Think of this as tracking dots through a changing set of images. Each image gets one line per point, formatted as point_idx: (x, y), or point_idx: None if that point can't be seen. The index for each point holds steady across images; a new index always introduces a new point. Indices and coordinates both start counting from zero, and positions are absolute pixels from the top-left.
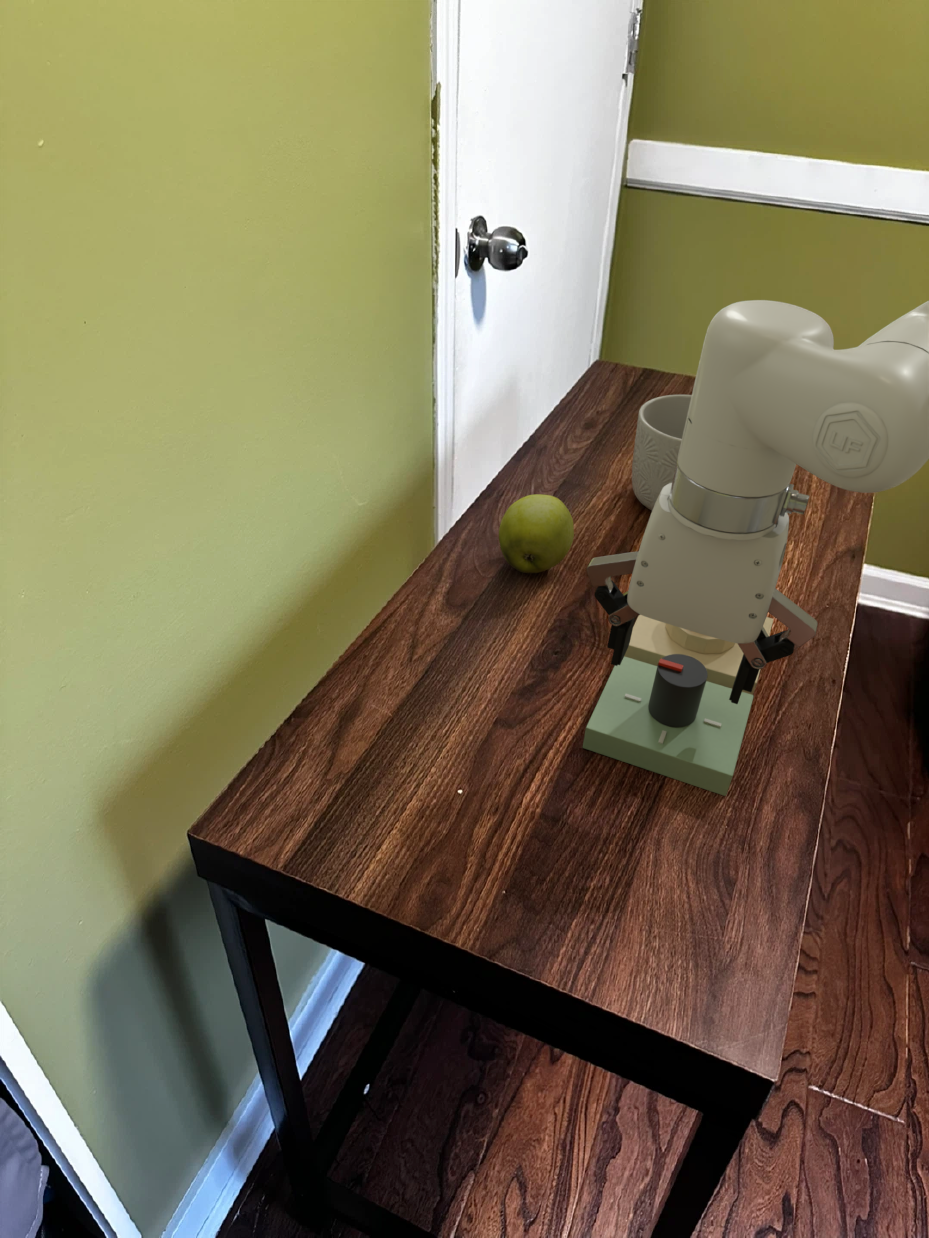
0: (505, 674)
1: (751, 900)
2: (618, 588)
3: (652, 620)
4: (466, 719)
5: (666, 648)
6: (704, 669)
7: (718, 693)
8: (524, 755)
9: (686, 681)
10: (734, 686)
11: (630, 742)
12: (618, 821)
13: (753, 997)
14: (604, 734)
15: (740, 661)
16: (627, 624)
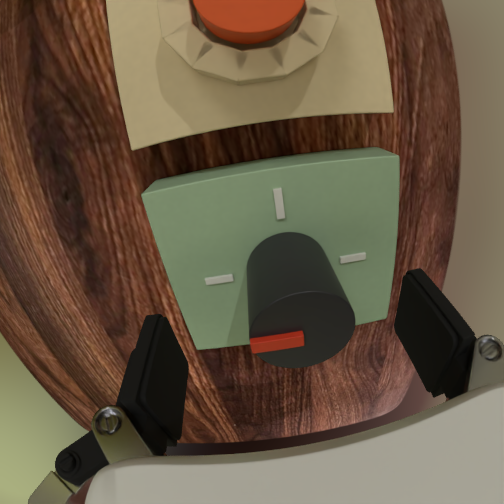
0: (59, 272)
1: (396, 360)
2: (91, 466)
3: (142, 49)
4: (90, 342)
5: (205, 108)
6: (346, 308)
7: (346, 183)
8: None
9: (319, 352)
10: (409, 354)
11: None
12: (280, 367)
13: (393, 396)
14: (222, 346)
15: (353, 65)
16: (165, 432)
